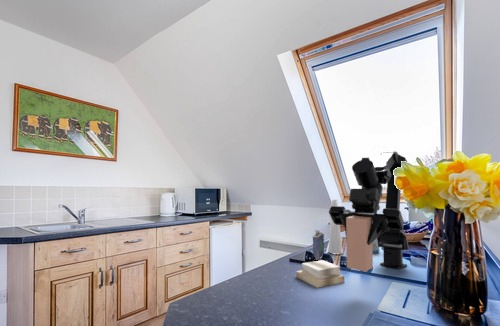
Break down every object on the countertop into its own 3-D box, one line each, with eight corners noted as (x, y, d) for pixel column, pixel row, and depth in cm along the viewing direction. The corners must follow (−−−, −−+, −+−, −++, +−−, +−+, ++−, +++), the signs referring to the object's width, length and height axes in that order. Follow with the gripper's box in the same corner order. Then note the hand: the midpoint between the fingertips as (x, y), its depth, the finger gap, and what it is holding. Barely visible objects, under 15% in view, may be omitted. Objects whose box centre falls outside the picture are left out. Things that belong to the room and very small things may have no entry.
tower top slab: (322, 267, 92) (322, 260, 92) (340, 275, 85) (340, 266, 85) (302, 271, 89) (301, 263, 89) (318, 279, 82) (318, 270, 82)
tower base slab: (322, 274, 93) (321, 267, 93) (344, 284, 84) (344, 276, 84) (296, 279, 89) (296, 271, 89) (317, 290, 80) (316, 281, 80)
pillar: (353, 263, 79) (353, 215, 80) (372, 267, 76) (372, 217, 77) (346, 267, 75) (346, 217, 76) (366, 271, 72) (365, 219, 73)
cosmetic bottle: (337, 255, 115) (336, 200, 117) (325, 252, 120) (323, 199, 122) (346, 253, 119) (344, 199, 121) (333, 250, 124) (332, 199, 125)
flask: (318, 261, 107) (318, 232, 108) (311, 260, 108) (310, 231, 109) (325, 256, 115) (324, 228, 116) (317, 255, 116) (317, 228, 117)
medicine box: (358, 251, 122) (357, 230, 123) (359, 249, 126) (359, 229, 126) (378, 253, 118) (378, 232, 119) (379, 251, 122) (378, 230, 123)
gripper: (330, 178, 86) (314, 220, 77) (399, 177, 74) (389, 226, 65) (341, 203, 92) (327, 244, 82) (407, 206, 80) (399, 254, 70)
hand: (357, 242), depth 75 cm, fingers closed on pillar, 5 cm apart
